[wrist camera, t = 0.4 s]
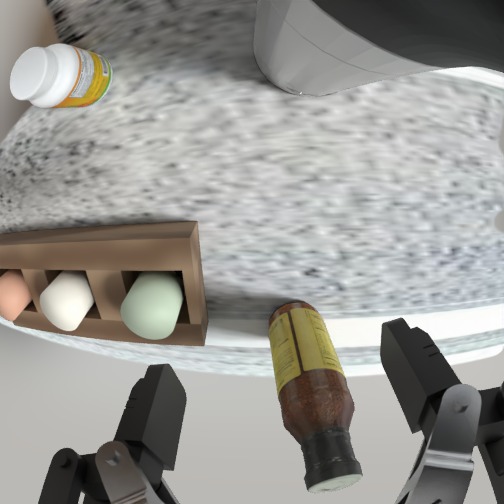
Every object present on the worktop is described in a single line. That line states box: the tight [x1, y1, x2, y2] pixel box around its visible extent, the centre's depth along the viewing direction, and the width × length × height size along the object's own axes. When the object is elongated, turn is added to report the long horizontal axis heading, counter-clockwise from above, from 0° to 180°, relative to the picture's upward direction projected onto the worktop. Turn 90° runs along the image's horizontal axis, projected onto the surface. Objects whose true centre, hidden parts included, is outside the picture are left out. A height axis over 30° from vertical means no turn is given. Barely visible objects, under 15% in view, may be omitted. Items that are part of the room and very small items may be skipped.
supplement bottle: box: [10, 43, 113, 108], centre depth 16 cm, size 5×5×10 cm
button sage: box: [120, 271, 185, 340], centre depth 25 cm, size 5×5×5 cm
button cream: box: [40, 270, 95, 331], centre depth 25 cm, size 5×5×5 cm
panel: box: [0, 221, 208, 346], centre depth 27 cm, size 12×28×4 cm, turn 91°
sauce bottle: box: [269, 302, 363, 493], centre depth 23 cm, size 7×6×20 cm
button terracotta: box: [0, 269, 32, 321], centre depth 25 cm, size 5×5×5 cm
